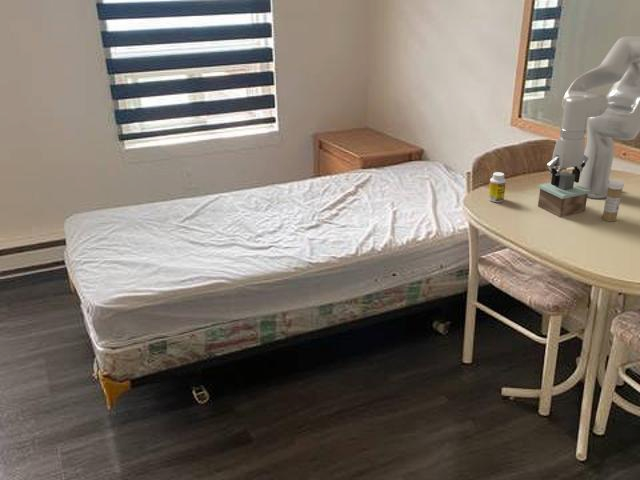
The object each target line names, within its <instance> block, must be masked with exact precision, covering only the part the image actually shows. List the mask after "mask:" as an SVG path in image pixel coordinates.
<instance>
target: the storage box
mask: <svg viewBox="0 0 640 480" xmlns="http://www.w3.org/2000/svg"><path fill="white" fill-rule="evenodd" d="M538 195H539V196H538V201H537V207H538V208H540V209H543V210H545V211H546V212H548V213H551V214H553V215H554V216H556V217H558V218H562V217H566V216H571V215H576V214H580V213H585V212H586V206H587V201H588V200H587V199H588V197H587V196H588V194H584V195H579V196H574V197H569V198H565V199H561V198H559V197H557V196H555V195H553V194H551V193H548V192H546V191H544V190H542V189H540V188H539V194H538Z"/></svg>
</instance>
